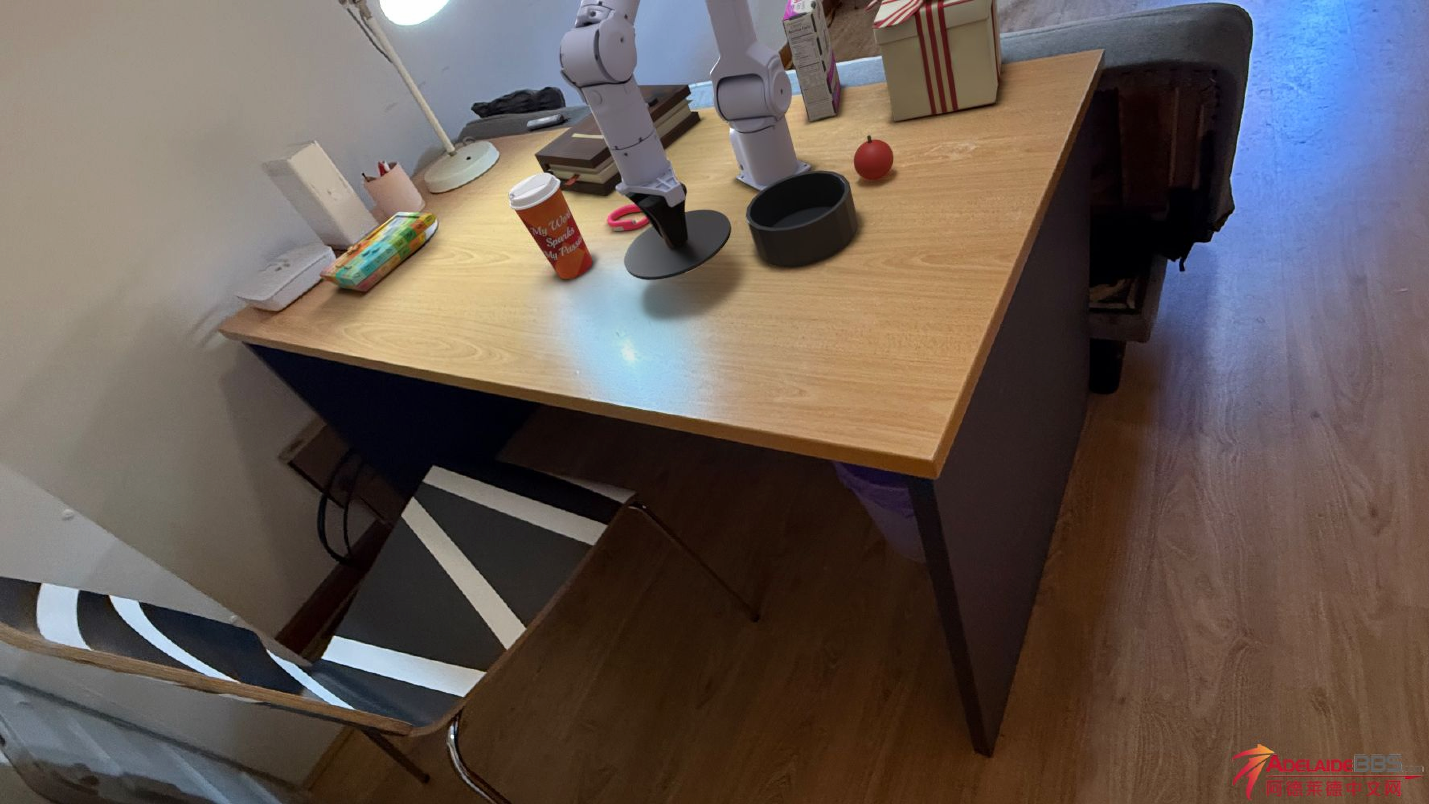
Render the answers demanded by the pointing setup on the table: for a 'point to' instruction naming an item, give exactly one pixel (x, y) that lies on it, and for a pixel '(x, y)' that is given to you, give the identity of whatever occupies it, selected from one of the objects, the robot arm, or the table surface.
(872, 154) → the apple
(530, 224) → the paper cup
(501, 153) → the table surface
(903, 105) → the gift box
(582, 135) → the decorative book
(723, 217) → the lid
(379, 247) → the puzzle game
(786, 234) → the pan
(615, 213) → the fitness band
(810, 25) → the candy bar box
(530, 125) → the usb stick
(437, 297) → the table surface
